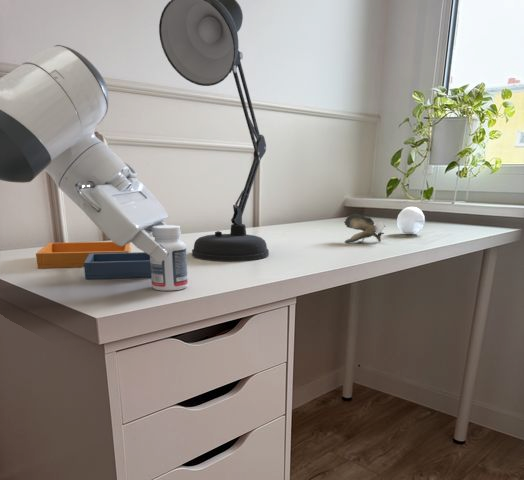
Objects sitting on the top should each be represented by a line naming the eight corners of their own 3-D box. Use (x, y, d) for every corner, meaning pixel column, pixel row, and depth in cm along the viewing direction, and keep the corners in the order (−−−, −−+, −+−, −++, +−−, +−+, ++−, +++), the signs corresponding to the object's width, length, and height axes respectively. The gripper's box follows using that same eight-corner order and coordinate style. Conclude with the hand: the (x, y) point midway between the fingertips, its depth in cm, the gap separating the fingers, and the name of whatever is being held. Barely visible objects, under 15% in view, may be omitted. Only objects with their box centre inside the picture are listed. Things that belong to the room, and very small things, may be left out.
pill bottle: (187, 283, 80) (184, 224, 77) (188, 290, 75) (186, 228, 72) (152, 284, 79) (148, 224, 76) (151, 291, 74) (147, 228, 71)
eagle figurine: (374, 234, 131) (340, 227, 130) (385, 211, 126) (350, 204, 124) (378, 254, 127) (343, 248, 125) (390, 232, 121) (354, 224, 119)
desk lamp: (178, 269, 90) (164, -38, 75) (158, 248, 113) (145, 10, 98) (307, 263, 97) (318, -19, 82) (264, 244, 120) (266, 21, 105)
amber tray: (37, 268, 90) (35, 253, 89) (50, 256, 103) (48, 242, 102) (129, 265, 93) (128, 251, 92) (131, 254, 106) (130, 241, 105)
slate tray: (85, 279, 82) (83, 262, 81) (90, 268, 91) (89, 253, 90) (159, 276, 84) (159, 260, 83) (158, 266, 93) (157, 251, 92)
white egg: (410, 236, 137) (413, 208, 135) (390, 233, 143) (392, 206, 140) (435, 234, 142) (439, 206, 140) (414, 231, 148) (417, 205, 146)
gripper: (85, 164, 61) (171, 248, 64) (133, 165, 81) (197, 230, 84) (53, 203, 63) (138, 283, 66) (107, 195, 82) (171, 257, 85)
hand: (172, 253), depth 75 cm, fingers open, 8 cm apart
